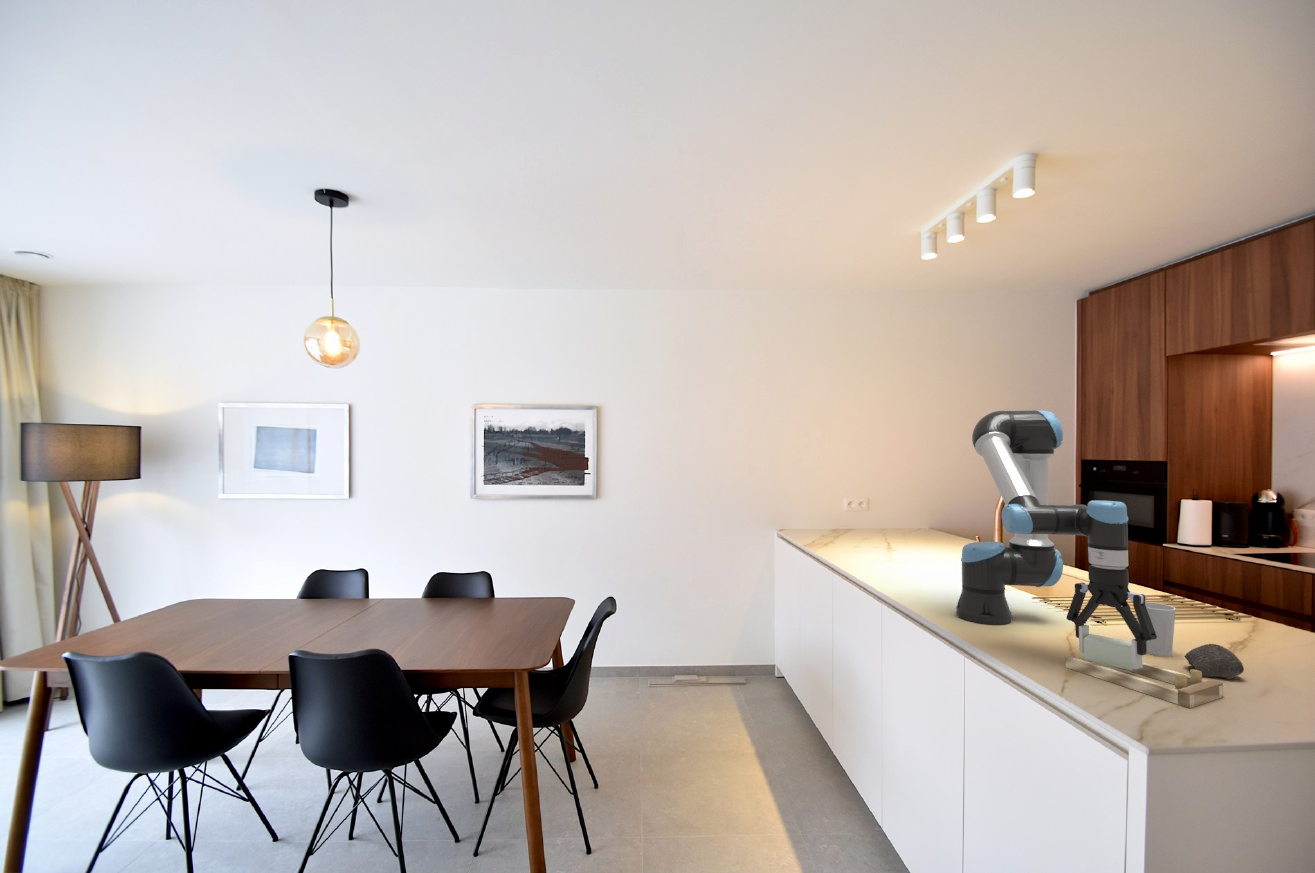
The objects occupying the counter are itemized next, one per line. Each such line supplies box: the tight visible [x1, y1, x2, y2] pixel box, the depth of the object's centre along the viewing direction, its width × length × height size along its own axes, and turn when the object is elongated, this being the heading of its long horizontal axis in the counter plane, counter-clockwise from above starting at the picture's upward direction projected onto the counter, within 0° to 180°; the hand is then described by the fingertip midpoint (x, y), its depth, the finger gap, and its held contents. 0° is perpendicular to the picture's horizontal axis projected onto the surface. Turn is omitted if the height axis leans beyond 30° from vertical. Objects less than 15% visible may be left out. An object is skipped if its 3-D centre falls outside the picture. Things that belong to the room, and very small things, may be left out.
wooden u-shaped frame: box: [1065, 655, 1224, 709], centre depth 131 cm, size 24×13×5 cm, turn 24°
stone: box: [1184, 643, 1245, 680], centre depth 135 cm, size 10×8×10 cm
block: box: [1083, 633, 1133, 671], centre depth 136 cm, size 9×6×5 cm, turn 43°
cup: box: [1136, 601, 1177, 658], centre depth 150 cm, size 8×8×12 cm
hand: (1109, 659), depth 136 cm, fingers closed on block, 10 cm apart
